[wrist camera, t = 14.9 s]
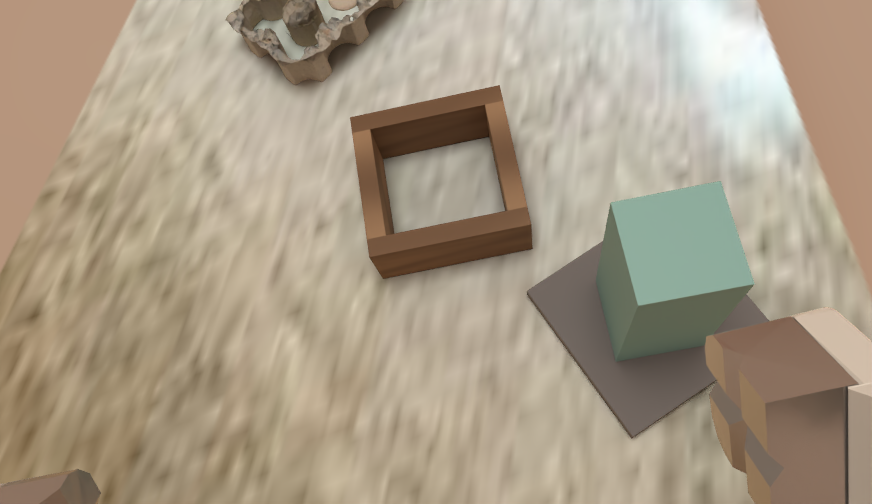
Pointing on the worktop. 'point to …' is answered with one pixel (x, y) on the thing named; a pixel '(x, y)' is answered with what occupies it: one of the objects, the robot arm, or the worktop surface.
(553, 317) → the rubber mat
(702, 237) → the teal block
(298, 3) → the egg carton
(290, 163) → the worktop surface
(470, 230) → the pocket holder
